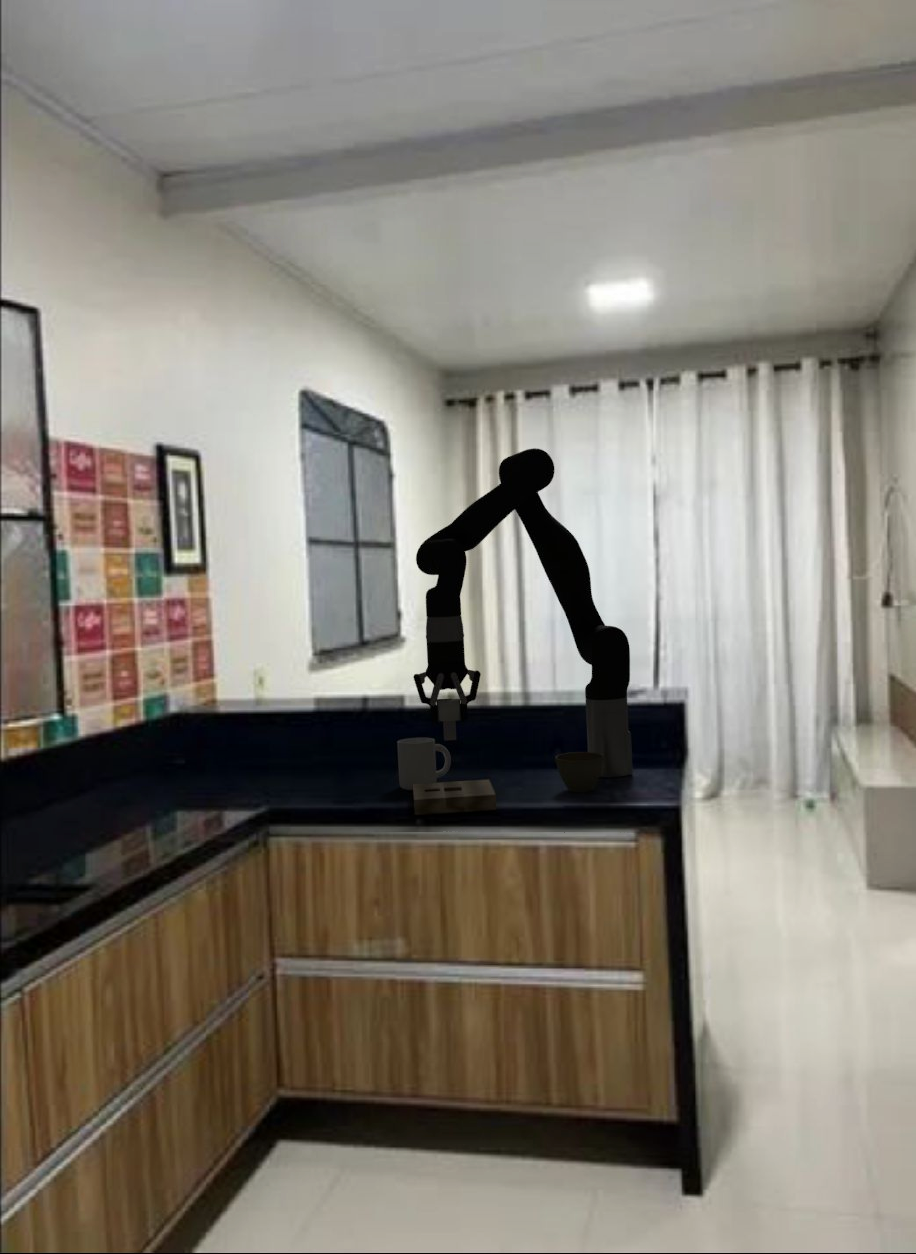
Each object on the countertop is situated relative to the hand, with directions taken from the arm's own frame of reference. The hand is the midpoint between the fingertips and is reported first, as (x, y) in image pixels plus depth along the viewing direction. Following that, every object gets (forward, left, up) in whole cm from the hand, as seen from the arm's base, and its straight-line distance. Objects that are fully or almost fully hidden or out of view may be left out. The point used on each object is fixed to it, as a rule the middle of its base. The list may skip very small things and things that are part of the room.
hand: (449, 722), depth 221 cm
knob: (0, 0, -3) cm, 3 cm away
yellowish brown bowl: (-27, -6, -17) cm, 32 cm away
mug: (+5, -21, -17) cm, 27 cm away
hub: (0, 0, -17) cm, 17 cm away
